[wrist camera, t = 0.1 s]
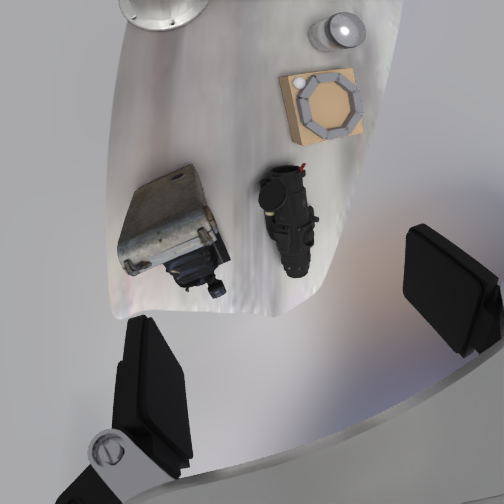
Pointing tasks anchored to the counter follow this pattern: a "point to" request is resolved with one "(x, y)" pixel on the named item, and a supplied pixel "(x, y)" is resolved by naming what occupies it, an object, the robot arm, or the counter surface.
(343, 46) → the lens
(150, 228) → the vintage camera
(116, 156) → the counter surface
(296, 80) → the mount
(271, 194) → the night vision scope
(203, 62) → the counter surface
